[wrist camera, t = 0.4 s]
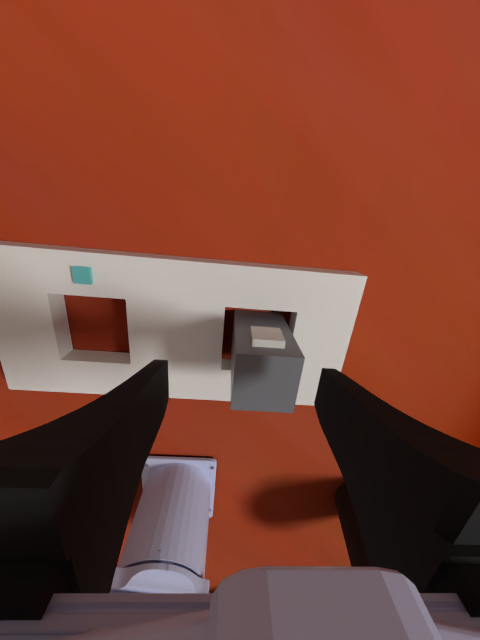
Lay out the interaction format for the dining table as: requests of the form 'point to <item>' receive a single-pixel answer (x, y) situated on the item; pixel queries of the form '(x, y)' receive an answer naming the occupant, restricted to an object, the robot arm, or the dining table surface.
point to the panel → (162, 317)
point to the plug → (264, 363)
